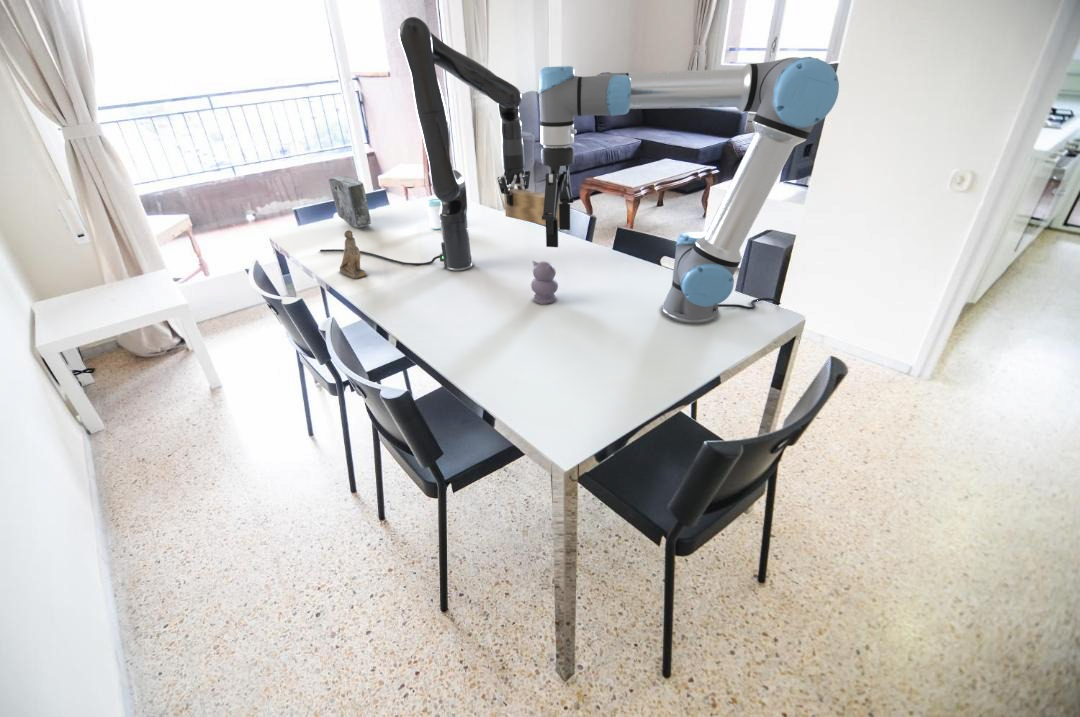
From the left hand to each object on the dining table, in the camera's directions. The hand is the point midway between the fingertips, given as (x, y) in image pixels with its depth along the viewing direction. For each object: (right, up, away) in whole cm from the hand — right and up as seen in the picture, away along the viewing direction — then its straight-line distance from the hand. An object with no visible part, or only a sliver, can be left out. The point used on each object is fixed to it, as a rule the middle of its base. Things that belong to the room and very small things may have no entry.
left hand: (515, 203), depth 175 cm
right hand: (+13, -25, -52) cm, 59 cm away
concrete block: (-77, +7, +56) cm, 95 cm away
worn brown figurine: (-59, -24, +4) cm, 64 cm away
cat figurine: (+10, -36, -21) cm, 43 cm away
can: (-37, +4, +48) cm, 61 cm away
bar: (+7, -7, -3) cm, 10 cm away
